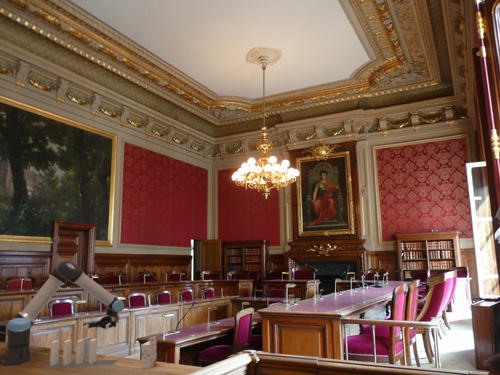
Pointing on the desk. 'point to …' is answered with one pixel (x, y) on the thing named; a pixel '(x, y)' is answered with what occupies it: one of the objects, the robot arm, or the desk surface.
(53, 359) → the domino
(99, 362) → the runway mat
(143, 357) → the ink cartridge box
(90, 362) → the domino
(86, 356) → the slate domino
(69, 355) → the domino
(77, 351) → the domino
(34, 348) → the desk surface
